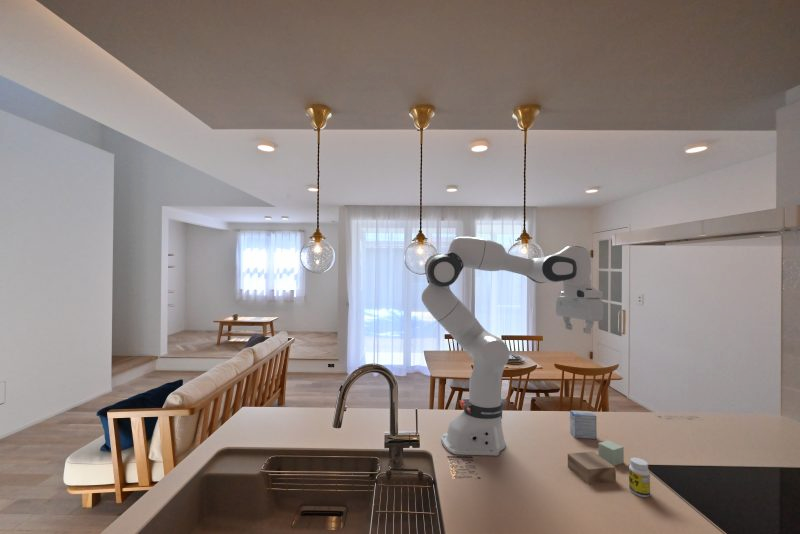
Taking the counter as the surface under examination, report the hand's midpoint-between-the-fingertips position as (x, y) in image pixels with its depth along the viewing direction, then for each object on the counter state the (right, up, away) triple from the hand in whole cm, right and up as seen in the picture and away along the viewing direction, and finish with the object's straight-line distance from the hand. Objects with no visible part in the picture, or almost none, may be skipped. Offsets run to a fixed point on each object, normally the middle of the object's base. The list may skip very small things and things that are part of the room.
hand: (577, 331), depth 119 cm
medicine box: (+6, -41, +8) cm, 42 cm away
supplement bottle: (+4, -40, -26) cm, 47 cm away
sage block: (+6, -40, -9) cm, 42 cm away
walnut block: (-5, -40, -17) cm, 43 cm away
